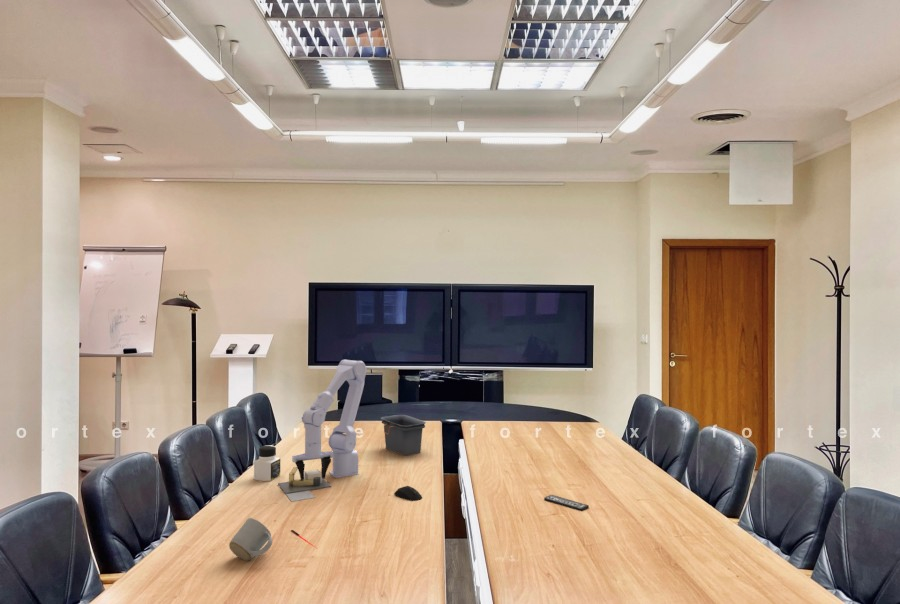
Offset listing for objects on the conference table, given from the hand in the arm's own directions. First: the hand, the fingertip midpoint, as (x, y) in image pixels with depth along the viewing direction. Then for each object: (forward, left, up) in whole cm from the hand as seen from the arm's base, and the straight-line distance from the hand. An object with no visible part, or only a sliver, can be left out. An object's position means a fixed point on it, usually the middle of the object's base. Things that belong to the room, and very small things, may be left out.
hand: (312, 479), depth 207 cm
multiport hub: (-66, +62, -2) cm, 91 cm away
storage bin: (-47, -26, -2) cm, 54 cm away
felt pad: (+7, +12, -2) cm, 14 cm away
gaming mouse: (-25, +31, -2) cm, 40 cm away
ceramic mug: (+30, +53, -2) cm, 61 cm away
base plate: (+3, +1, -2) cm, 4 cm away
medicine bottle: (+13, -15, -2) cm, 20 cm away
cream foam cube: (0, 0, -1) cm, 1 cm away
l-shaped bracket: (+8, +1, -2) cm, 8 cm away
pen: (+15, +48, -2) cm, 51 cm away
